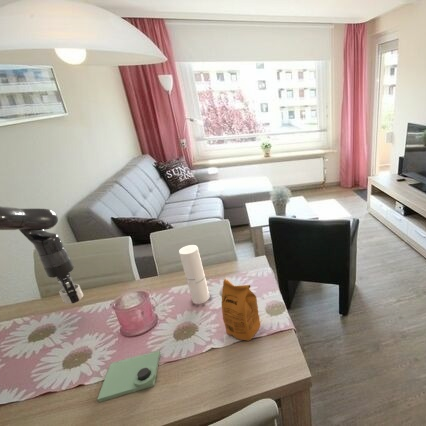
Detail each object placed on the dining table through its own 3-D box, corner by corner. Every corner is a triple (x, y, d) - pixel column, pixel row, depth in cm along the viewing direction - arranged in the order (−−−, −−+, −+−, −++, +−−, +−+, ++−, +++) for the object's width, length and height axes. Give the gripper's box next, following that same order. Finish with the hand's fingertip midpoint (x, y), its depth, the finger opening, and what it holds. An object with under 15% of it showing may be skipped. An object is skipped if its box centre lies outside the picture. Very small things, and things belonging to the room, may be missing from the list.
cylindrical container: (195, 293, 131) (182, 245, 121) (211, 292, 131) (199, 244, 121) (190, 304, 124) (176, 254, 114) (207, 303, 125) (195, 253, 115)
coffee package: (239, 316, 117) (230, 270, 108) (264, 325, 112) (257, 278, 103) (221, 334, 109) (210, 286, 100) (248, 345, 104) (239, 296, 95)
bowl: (61, 306, 109) (56, 295, 107) (68, 296, 114) (63, 286, 112) (80, 302, 110) (75, 291, 108) (86, 292, 116) (81, 282, 114)
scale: (98, 404, 86) (94, 397, 85) (111, 366, 98) (108, 359, 97) (155, 387, 91) (153, 380, 89) (162, 352, 102) (160, 346, 101)
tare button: (137, 382, 90) (136, 378, 89) (140, 373, 92) (138, 369, 92) (149, 378, 90) (147, 374, 90) (151, 370, 93) (149, 366, 93)
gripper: (39, 258, 107) (57, 295, 114) (46, 273, 98) (65, 312, 105) (65, 250, 112) (80, 286, 119) (73, 263, 103) (90, 301, 110)
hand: (73, 298), depth 112 cm, fingers closed on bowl, 6 cm apart
